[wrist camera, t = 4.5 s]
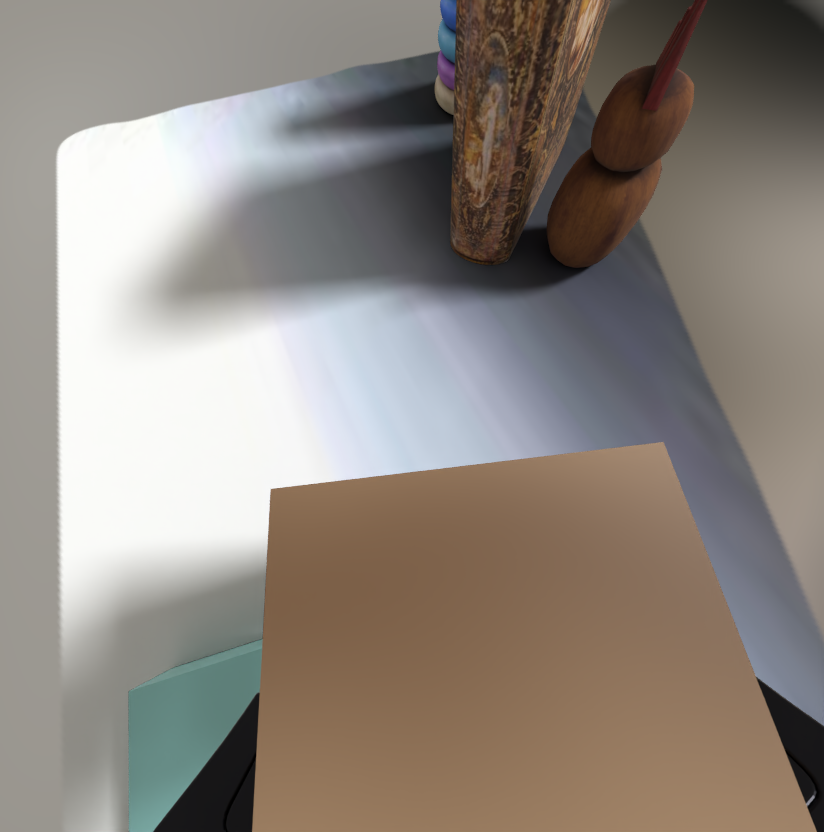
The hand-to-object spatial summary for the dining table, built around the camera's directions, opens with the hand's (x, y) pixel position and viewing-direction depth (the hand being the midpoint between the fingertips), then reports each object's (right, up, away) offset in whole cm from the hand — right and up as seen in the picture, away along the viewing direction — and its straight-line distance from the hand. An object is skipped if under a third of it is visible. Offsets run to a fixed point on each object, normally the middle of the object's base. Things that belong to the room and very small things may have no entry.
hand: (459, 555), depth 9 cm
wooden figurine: (+13, +18, +19) cm, 29 cm away
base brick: (-11, -14, +10) cm, 21 cm away
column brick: (+1, -3, +6) cm, 7 cm away
